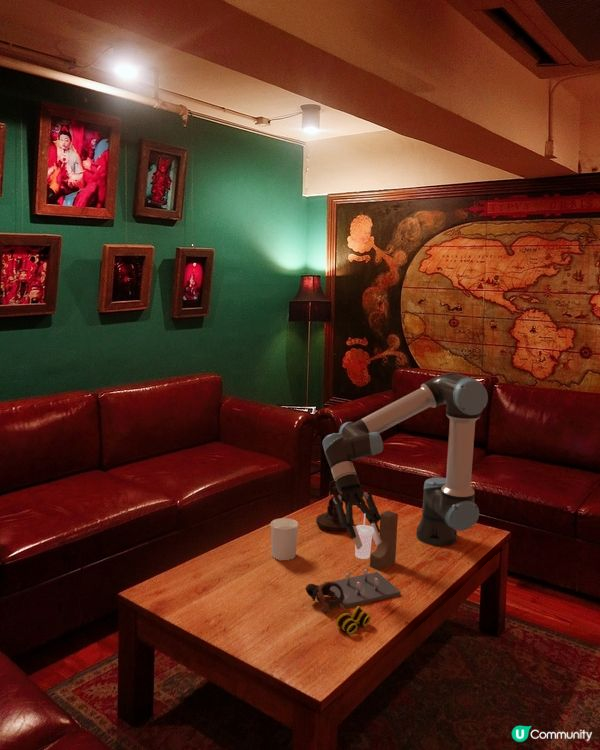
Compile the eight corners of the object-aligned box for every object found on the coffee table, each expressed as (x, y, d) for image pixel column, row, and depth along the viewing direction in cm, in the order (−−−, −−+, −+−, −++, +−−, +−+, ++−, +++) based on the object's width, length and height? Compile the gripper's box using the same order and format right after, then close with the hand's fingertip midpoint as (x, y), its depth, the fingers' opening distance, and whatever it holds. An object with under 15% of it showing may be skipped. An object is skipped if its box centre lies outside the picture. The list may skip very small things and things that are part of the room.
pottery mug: (342, 597, 205) (348, 583, 199) (336, 624, 197) (342, 610, 192) (306, 585, 206) (311, 570, 200) (298, 611, 198) (303, 596, 193)
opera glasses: (347, 639, 183) (350, 625, 182) (334, 628, 187) (337, 614, 185) (370, 626, 190) (373, 612, 188) (357, 616, 193) (360, 602, 192)
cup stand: (376, 575, 218) (377, 560, 218) (400, 595, 206) (401, 579, 205) (323, 586, 210) (324, 571, 209) (344, 608, 198) (345, 592, 197)
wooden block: (379, 570, 222) (382, 520, 218) (369, 566, 225) (371, 516, 221) (395, 562, 228) (398, 513, 225) (385, 558, 231) (387, 509, 228)
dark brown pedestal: (317, 517, 265) (319, 470, 262) (353, 519, 264) (356, 472, 260) (314, 532, 251) (316, 482, 247) (353, 535, 249) (355, 485, 246)
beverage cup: (351, 551, 209) (353, 509, 206) (370, 551, 209) (372, 509, 206) (354, 560, 203) (356, 517, 200) (373, 560, 203) (376, 517, 200)
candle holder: (265, 558, 228) (265, 526, 226) (276, 547, 237) (277, 516, 235) (291, 564, 225) (291, 531, 222) (301, 552, 234) (302, 520, 231)
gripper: (366, 479, 220) (390, 545, 209) (315, 487, 212) (337, 555, 201) (375, 469, 214) (400, 536, 203) (323, 476, 206) (346, 546, 195)
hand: (369, 545), depth 202 cm, fingers closed on beverage cup, 6 cm apart
